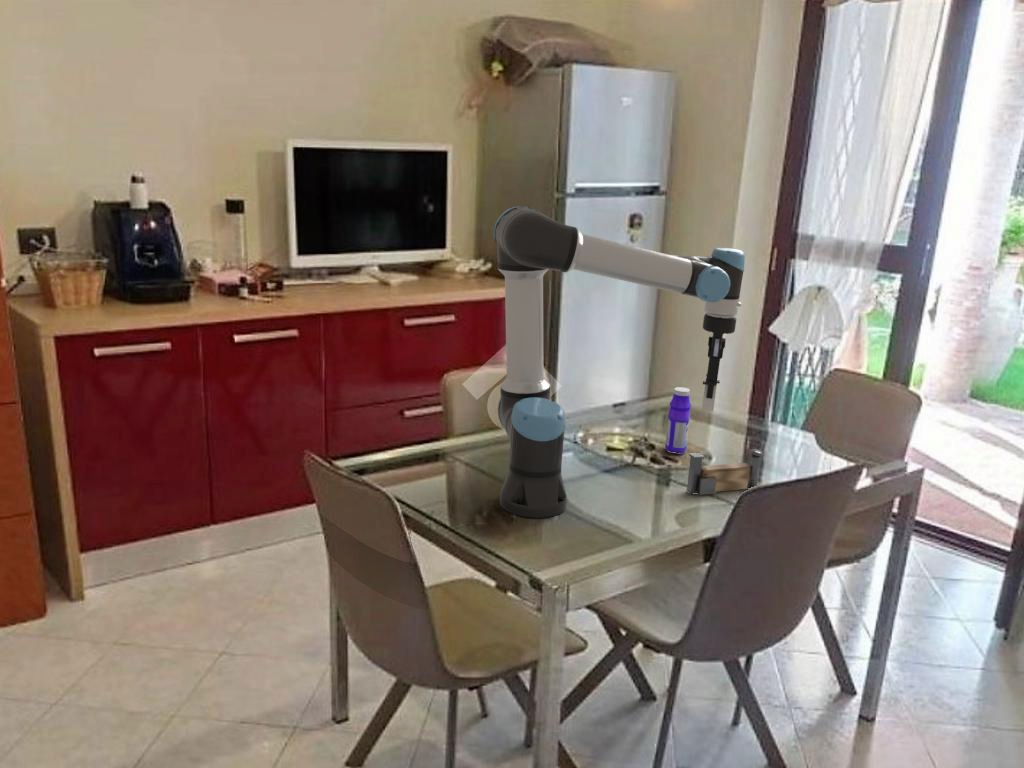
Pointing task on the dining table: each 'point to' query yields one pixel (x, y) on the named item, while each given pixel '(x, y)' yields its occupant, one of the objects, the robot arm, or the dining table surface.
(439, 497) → the dining table surface
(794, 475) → the dining table surface
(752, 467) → the hinge post
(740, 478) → the gate
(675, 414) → the bottle
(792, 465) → the dining table surface
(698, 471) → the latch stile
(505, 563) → the dining table surface
